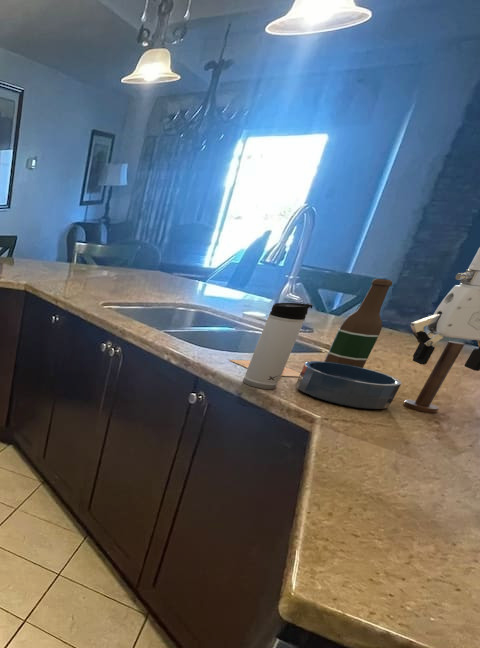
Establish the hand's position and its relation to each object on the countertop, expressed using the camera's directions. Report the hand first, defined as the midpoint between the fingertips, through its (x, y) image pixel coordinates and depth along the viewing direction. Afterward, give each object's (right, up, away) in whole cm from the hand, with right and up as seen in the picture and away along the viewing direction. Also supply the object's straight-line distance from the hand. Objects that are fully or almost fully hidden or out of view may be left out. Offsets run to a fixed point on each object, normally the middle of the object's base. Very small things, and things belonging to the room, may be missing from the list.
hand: (444, 365), depth 103 cm
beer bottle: (+4, 0, +26) cm, 26 cm away
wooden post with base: (-1, -9, +4) cm, 10 cm away
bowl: (-14, -7, +9) cm, 17 cm away
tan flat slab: (-14, +1, +26) cm, 30 cm away
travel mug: (-27, -4, +14) cm, 31 cm away
